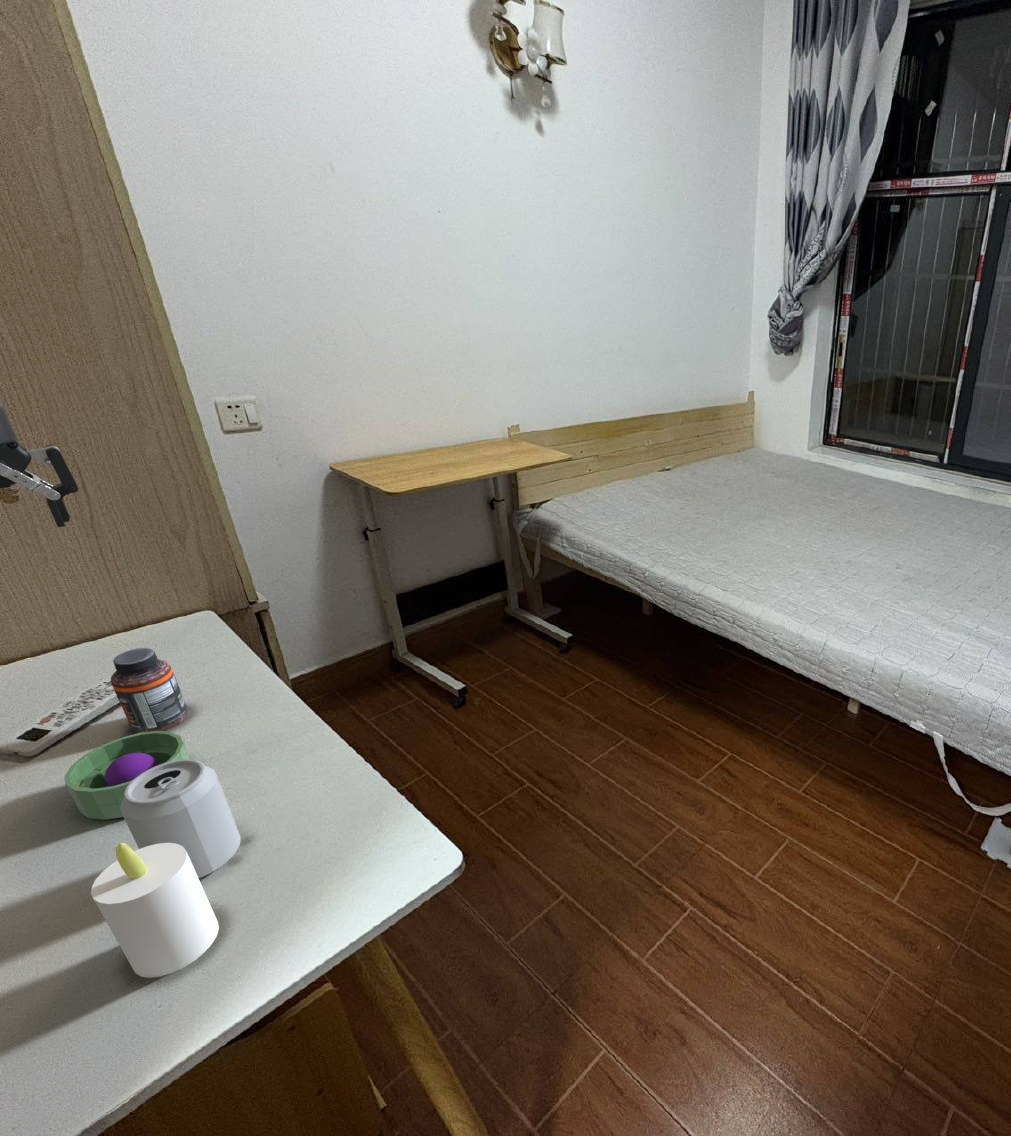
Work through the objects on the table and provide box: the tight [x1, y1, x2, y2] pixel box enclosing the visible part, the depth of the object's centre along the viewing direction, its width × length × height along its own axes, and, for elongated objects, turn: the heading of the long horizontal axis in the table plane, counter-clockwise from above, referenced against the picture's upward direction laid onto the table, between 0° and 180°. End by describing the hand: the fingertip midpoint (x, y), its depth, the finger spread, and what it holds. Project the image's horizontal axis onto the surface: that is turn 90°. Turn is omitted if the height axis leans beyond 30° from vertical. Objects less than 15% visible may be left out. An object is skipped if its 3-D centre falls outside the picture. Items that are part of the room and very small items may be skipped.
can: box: [120, 758, 242, 879], centre depth 66 cm, size 8×8×12 cm
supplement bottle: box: [110, 647, 189, 734], centre depth 84 cm, size 6×6×11 cm
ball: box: [105, 753, 158, 787], centre depth 75 cm, size 5×5×5 cm
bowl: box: [64, 730, 191, 821], centre depth 75 cm, size 10×10×5 cm
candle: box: [90, 842, 220, 979], centre depth 57 cm, size 6×6×15 cm
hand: (12, 532), depth 79 cm, fingers open, 8 cm apart
